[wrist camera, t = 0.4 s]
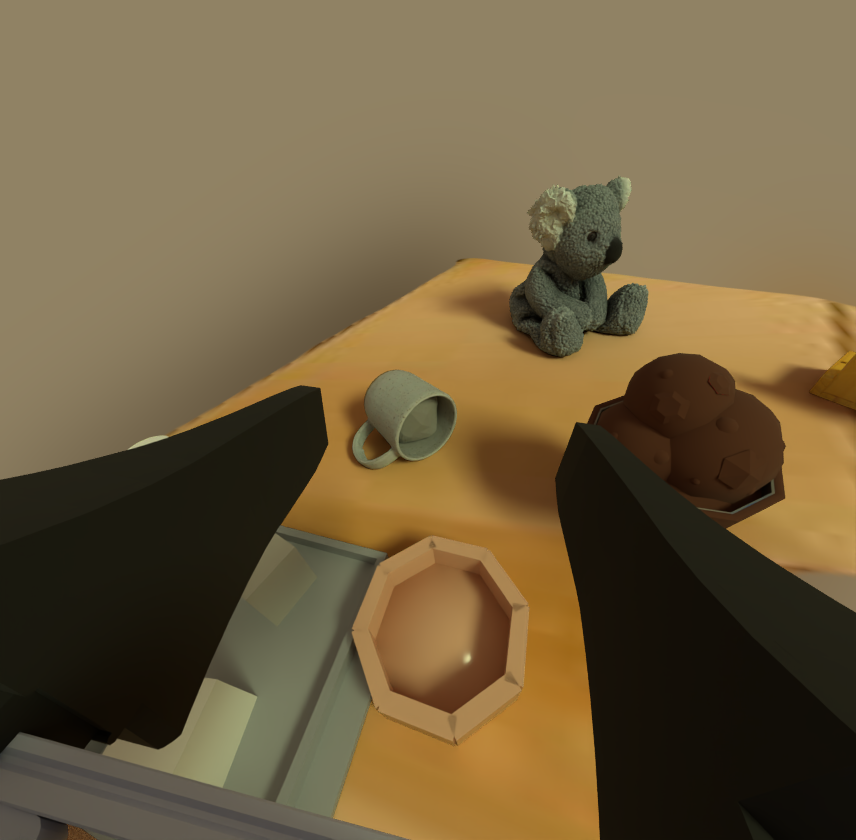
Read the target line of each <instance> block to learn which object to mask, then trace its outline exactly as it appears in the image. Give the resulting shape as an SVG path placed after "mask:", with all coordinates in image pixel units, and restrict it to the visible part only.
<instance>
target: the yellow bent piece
mask: <svg viewBox="0 0 856 840" xmlns="http://www.w3.org/2000/svg"><path fill="white" fill-rule="evenodd" d="M809 392H810V393H812V394H814V395H817V396H819V397H822V398H824V399H827V400H830V401H833V402H835V403H838V404H841V405H843V406H846V407H849V408H852V409H854V410H856V352H852V351H849V352H848V353H846V354H845V355H844V356H843V357H842V358H841V359H839V360H838V361H837V362H836V363H835V364H834V365H833V366H831V367H830V368H829V369H828V370H827V371H826V372H825V373H824V374H823V376H822V377H821V378H820V379H819V380H818V382H817V383H816V384H815V385H814V387H813V388H812V389H811V390H810V391H809Z"/></svg>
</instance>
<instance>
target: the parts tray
mask: <svg viewBox="0 0 856 840" xmlns="http://www.w3.org/2000/svg"><path fill="white" fill-rule="evenodd" d="M276 534H277V535H279V536H280V537H282V538H283V539H284V540H286V541H287V542H289V543H290V544H292V545H293V546H294V547H295V548H296V549H297V550H298V552H299V553H300V554H301V556H302V557H303V558H304V560H305V561H306V563H307V564H308V565H309V567H310V568H311V569H312V571H313V572H314V573H315V575H316V576H317V578H316V580H315V581H314V582H313V583H312V585H311V586H310V587H309V588H308V589H307V591H306V592H305V593H304V594H303V596H302V597H301V598H300V599H299V601H298V602H297V603H296V604H295V605H294V607H293V608H292V609H291V610H290V612H289V613H288V614H287V615H286V616H285V618H284V619H283V620H282V621H281V623H280V624H279V625H278V626H276V625H275V624H274V623H272V622H271V621H270V620H269V619H267V618H266V617H265V616H264V615H263V614H261V613H260V612H259V611H258V610H257V609H255V608H254V607H253V606H252V605H250V604H249V603H248V602H247V601H246V600H244V599H243V598H242V597H241V598H240V600H239V602H238V604H237V607H236V609H235V611H234V613H233V615H232V617H231V619H230V621H229V623H228V625H227V628H226V630H225V632H224V634H223V637H222V639H221V641H220V643H219V645H218V648H217V650H216V652H215V654H214V657H213V659H212V661H211V663H210V665H209V668H208V670H207V673H206V675H205V678H211V679H217V680H220V681H222V682H224V683H227V684H229V685H231V686H234V687H236V688H238V689H241V690H243V691H246V692H248V693H250V694H253V695H255V696H257V699H256V702H255V705H254V707H253V710H252V712H251V715H250V718H249V720H248V723H247V725H246V728H245V731H244V733H243V736H242V738H241V741H240V744H239V746H238V749H237V751H236V754H235V757H234V759H233V762H232V764H231V767H230V770H229V772H228V775H227V777H226V780H225V783H224V785H223V788H225V789H228V790H232V791H236V792H239V793H243V794H246V795H250V796H254V797H257V798H261V799H265V800H268V801H272V802H275V803H279V804H283V805H286V806H290V807H294V808H297V809H301V810H304V811H308V812H312V813H315V814H319V815H322V816H326V817H330V818H333V816H334V813H335V810H336V807H337V803H338V800H339V797H340V794H341V791H342V788H343V785H344V782H345V779H346V776H347V773H348V770H349V767H350V764H351V761H352V758H353V755H354V752H355V748H356V745H357V742H358V739H359V736H360V733H361V730H362V727H363V724H364V721H365V718H366V715H367V712H368V709H369V706H370V703H371V700H372V696H371V693H370V689H369V686H368V683H367V680H366V677H365V673H364V670H363V667H362V664H361V661H360V658H359V654H358V651H357V648H356V645H355V642H354V638H353V635H352V631H353V630H352V627H353V624H354V622H355V620H356V617H357V615H358V612H359V610H360V607H361V605H362V602H363V600H364V597H365V595H366V593H367V590H368V588H369V585H370V583H371V580H372V578H373V575H374V573H375V571H376V568H377V566H380V564H379V563H381V562H383V561H385V560H386V559H388V558H389V557H388V555H387V553H384V552H380V551H376V550H372V549H369V548H365V547H361V546H357V545H353V544H349V543H345V542H342V541H338V540H334V539H330V538H326V537H322V536H319V535H315V534H311V533H307V532H303V531H299V530H296V529H292V528H288V527H284V526H280V527H279V528H278V530H277V531H276ZM106 747H107V744H104V743H100V742H96V741H92V740H91V741H90V742H89V743H88V745H87V746H86V747H85V749H84V750H87V751H91V752H94V753H98V754H103V752H104V750H105V749H106ZM83 830H84V831H86V832H87V833H89V834H90V835H92V836H93V837H94V838H96V839H97V840H118V839H115V838H111V837H108V836H105V835H101V834H98V833H95V832H92V831H88V830H85V829H83Z"/></svg>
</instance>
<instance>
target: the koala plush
mask: <svg viewBox="0 0 856 840" xmlns="http://www.w3.org/2000/svg"><path fill="white" fill-rule="evenodd" d="M630 184H631V182H630V180H629V179H628V178H621V177H619V176H618V178H616V179H614V180H611V181H610V182H609V183H608V184H607V186H603V185H602V184H596V185H589V186H586V185H584V186H579V187H577V188H576V189H574V190H569V189H568V188H564V187H563V188H562V187H560V188H559V185H557V186H556V187H555V185H553V186H552V187H551V188H550V189H547V190H545V192H544V193H543V194H541V196H540V198H539V200H535V205H533V206H532V207H531V209H530V210H528V212H527V213H528V214H529V215H530V216H532V218H531V221H530V224H529V225H530V226H529V229H530V230H531V231H532V232H531V233H532V234H533V235H532V237H533V238H534V239H536V240H537V241H538V242H539V243H541V247H543V251H544V252H543V255H542V257H541V258H540V260H539V261H537V262H536V263H535V265H534V266H533V267H532V269H531V271H530V273H529V275H528V277H527V279H526V280H525V281H524V282H523V283H521V284H520V285H518V286H517V287H515V289H514V290H513V292H512V294H511V296H510V299H509V300H510V301H509V304H510V312H511V317H512V318H513V320H512V321H513V324H514V325H515V327H517V330H519V331H522V332H524V333H527V334H529V335H530V336H531V338H532V340H534V343H536V345H537V346H538V347H539V349H541V350H542V351H544V352H546V353H548V354H552V355H555V356H559V357H563V356H565V355H567V356H568V355H571V354H572V353H574V352H578V351H579V350H580V349H581V346H582V344H583V337H584V334H583V330H591V331H597V332H600V333H601V332H602V333H610V334H617V335H625V334H627V335H630V334H633V333H634V334H635V331H637V329H638V327H639V326H640V324H641V323H642V320H643V318H644V315H645V311H646V307H647V303H648V301H647V300H648V298H647V297H648V289H646V285H644V286H642V285H640V286H639V285H638V284H634V283H632V284H631V285H630V284H627V285H624V286H623V287H621V288H620V289H618V290H617V291H616V292H614V294H613V295H611V296H610V298H609V299H608V300H607V289H606V285H605V282H604V278H603V276H602V274H601V272H602V271H604V270H605V269H606V268H607V267H608V266H609V265H611V264H612V263H614V262H616V261H617V260H618V259H619V258H620V256H621V253H622V244H623V243H622V242H621V217H620V214H619V213H620V212H621V210H622V209H624V208H625V206H626V203H627V202H628V201H629V200H628V196H630V192H631V191H632V189H631V186H630Z"/></svg>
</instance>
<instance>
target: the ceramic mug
mask: <svg viewBox="0 0 856 840" xmlns="http://www.w3.org/2000/svg"><path fill="white" fill-rule="evenodd" d="M364 408H365V412H366V414H367V416H368V420H367V421H366V422H365V423H364V424H363V425H362V426H361V428H360V429H359V430H358V432H357V433H356V435H355V437H354V440H353V445H352V449H353V454H354V456H355V458H356V459H357V461H358V462H359V463H361V464H362V465H364V466H365V467H367V468H370V469H380V468H383V467H385V466H387V465H389V464H390V463H392V462H393V461H395V460H396V459H397V458H398V457H400V456H401V457H402V458H404V459H406V460H410V461H417V460H422V459H425V458H427V457H429V456H431V455H433V454H434V453H436V452H437V451H438V450H439V449H440V448H441V447H442V446H443V445H444V444H445V443H446V442H447V440H448V439H449V438H450V436H451V434H452V432H453V430H454V427H455V424H456V419H457V410H456V405H455V403H454V401H453V400H452V398H451V397H450V396H449V395H448V394H446V393H444V392H443V391H441V390H439V389H437V388H436V387H434V386H432V385H431V384H429V383H427V382H426V381H424V380H422V379H421V378H419V377H417V376H416V375H414V374H412V373H410V372H406V371H402V370H391V371H387V372H385V373H383V374H381V375H379V376H378V377H377V378H376V379H375V380H374V381H373V382H372V383H371V384H370V386H369V388H368V389H367V392H366V394H365V399H364ZM374 428H376V429H377V430H378V432H379V433H380V434H382V436H383V437H384V438H385V439H386V441H387V442H388V443H389V444H390V445H391V449H390V450H389V451H388V452H386V453H384V454H383V455H381V456H380V457H378V458H376V459H373V460H367V458H366V456H365V454H364V450H363V449H362V447H363V444H364V441H365V440H366V438H367V436H368V435H369V434H370V433H371V432H372V431H373V430H374Z"/></svg>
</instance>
